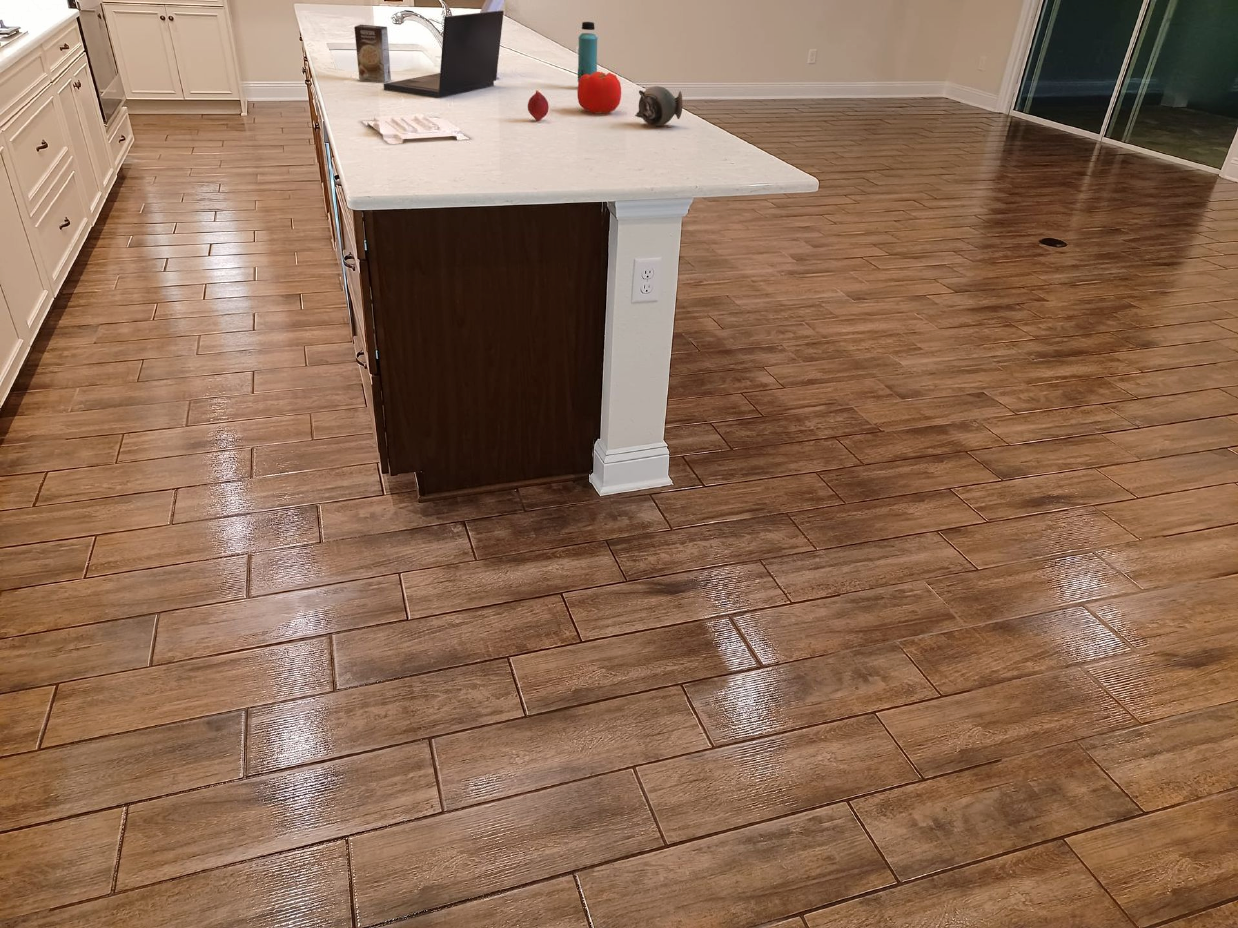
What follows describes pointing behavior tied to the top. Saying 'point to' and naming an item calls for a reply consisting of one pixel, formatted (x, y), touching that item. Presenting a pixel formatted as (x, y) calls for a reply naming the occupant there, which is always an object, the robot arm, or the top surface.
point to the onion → (538, 106)
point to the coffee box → (372, 53)
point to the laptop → (428, 86)
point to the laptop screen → (470, 49)
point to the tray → (413, 127)
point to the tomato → (599, 92)
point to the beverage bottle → (587, 51)
